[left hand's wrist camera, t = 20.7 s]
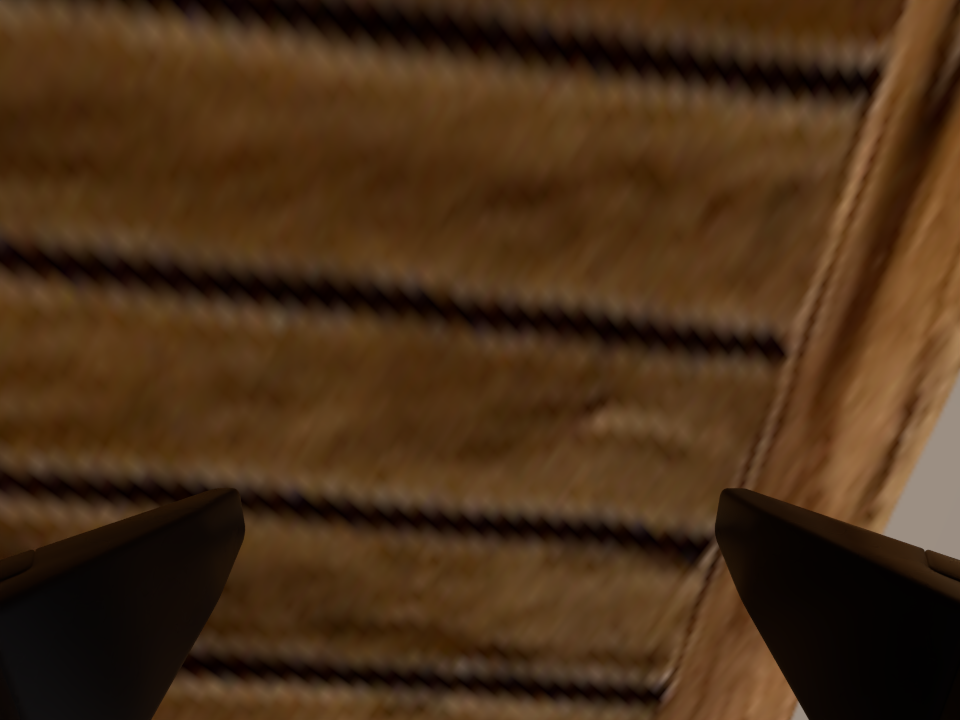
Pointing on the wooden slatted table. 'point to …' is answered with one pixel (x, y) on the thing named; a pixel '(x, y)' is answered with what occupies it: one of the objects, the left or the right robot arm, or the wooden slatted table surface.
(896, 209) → the wooden slatted table surface
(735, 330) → the wooden slatted table surface
